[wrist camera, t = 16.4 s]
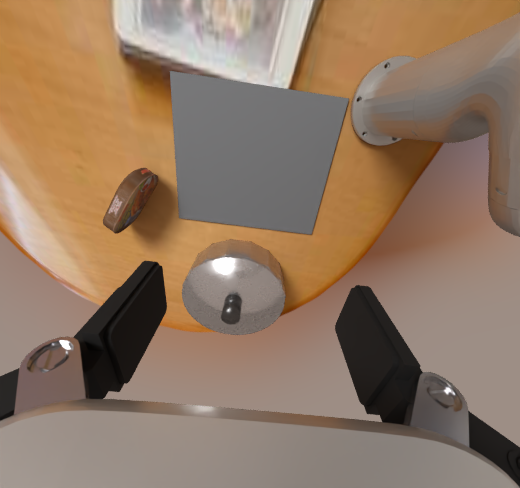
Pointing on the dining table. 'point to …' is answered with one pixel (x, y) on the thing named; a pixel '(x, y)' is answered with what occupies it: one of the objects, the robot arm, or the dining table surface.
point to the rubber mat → (252, 151)
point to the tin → (130, 199)
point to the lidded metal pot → (234, 288)
